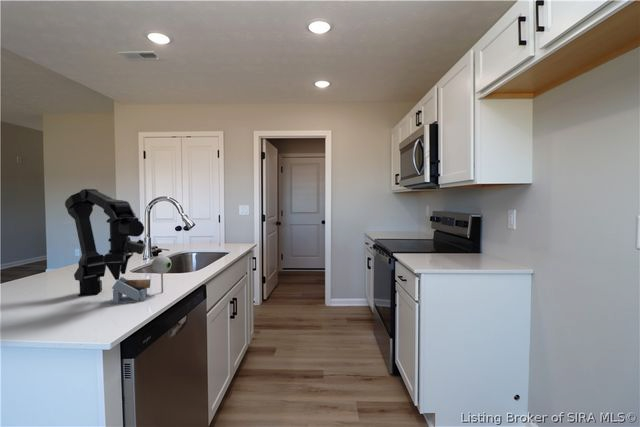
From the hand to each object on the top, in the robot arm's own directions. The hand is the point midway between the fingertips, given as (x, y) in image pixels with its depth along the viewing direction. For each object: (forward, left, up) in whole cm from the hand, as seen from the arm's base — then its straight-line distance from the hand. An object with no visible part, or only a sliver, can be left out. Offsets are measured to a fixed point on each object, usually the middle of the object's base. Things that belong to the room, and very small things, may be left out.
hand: (120, 276), depth 120 cm
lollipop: (+13, +6, -9) cm, 17 cm away
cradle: (+2, 0, -9) cm, 9 cm away
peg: (+2, 0, -3) cm, 3 cm away
